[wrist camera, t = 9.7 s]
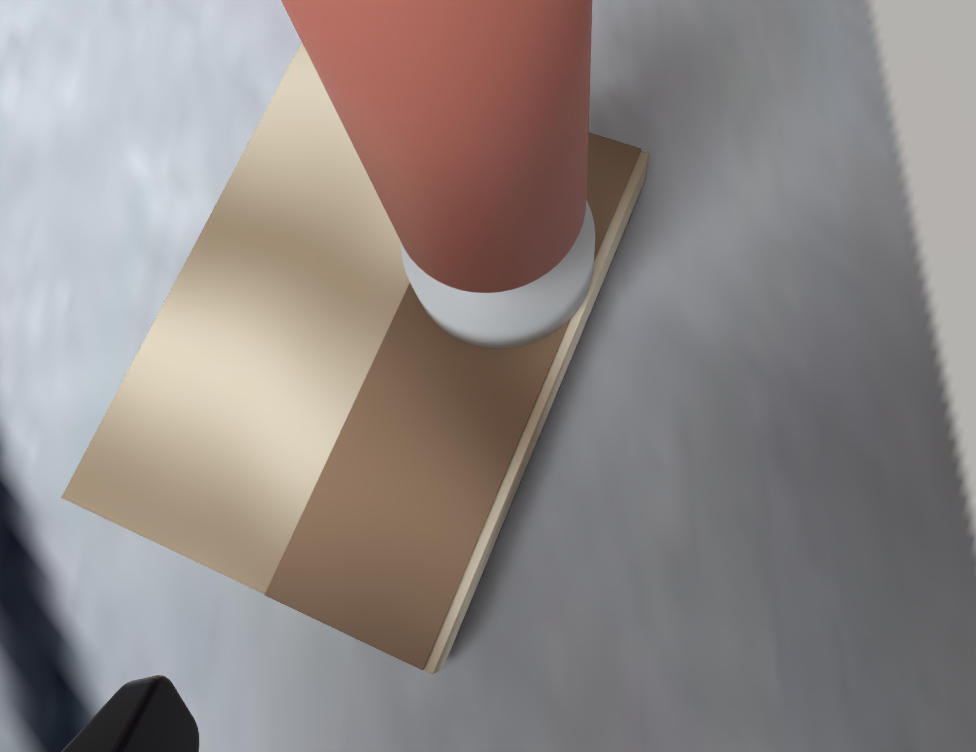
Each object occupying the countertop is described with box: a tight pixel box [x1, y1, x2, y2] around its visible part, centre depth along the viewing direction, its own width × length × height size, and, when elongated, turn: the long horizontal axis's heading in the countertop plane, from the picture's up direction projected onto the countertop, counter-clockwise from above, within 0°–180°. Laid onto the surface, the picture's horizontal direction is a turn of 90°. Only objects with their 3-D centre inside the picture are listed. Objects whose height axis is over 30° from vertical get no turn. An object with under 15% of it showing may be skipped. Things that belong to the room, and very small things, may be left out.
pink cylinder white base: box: [281, 0, 595, 349], centre depth 11 cm, size 4×4×13 cm
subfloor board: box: [61, 44, 649, 674], centre depth 19 cm, size 12×9×1 cm
